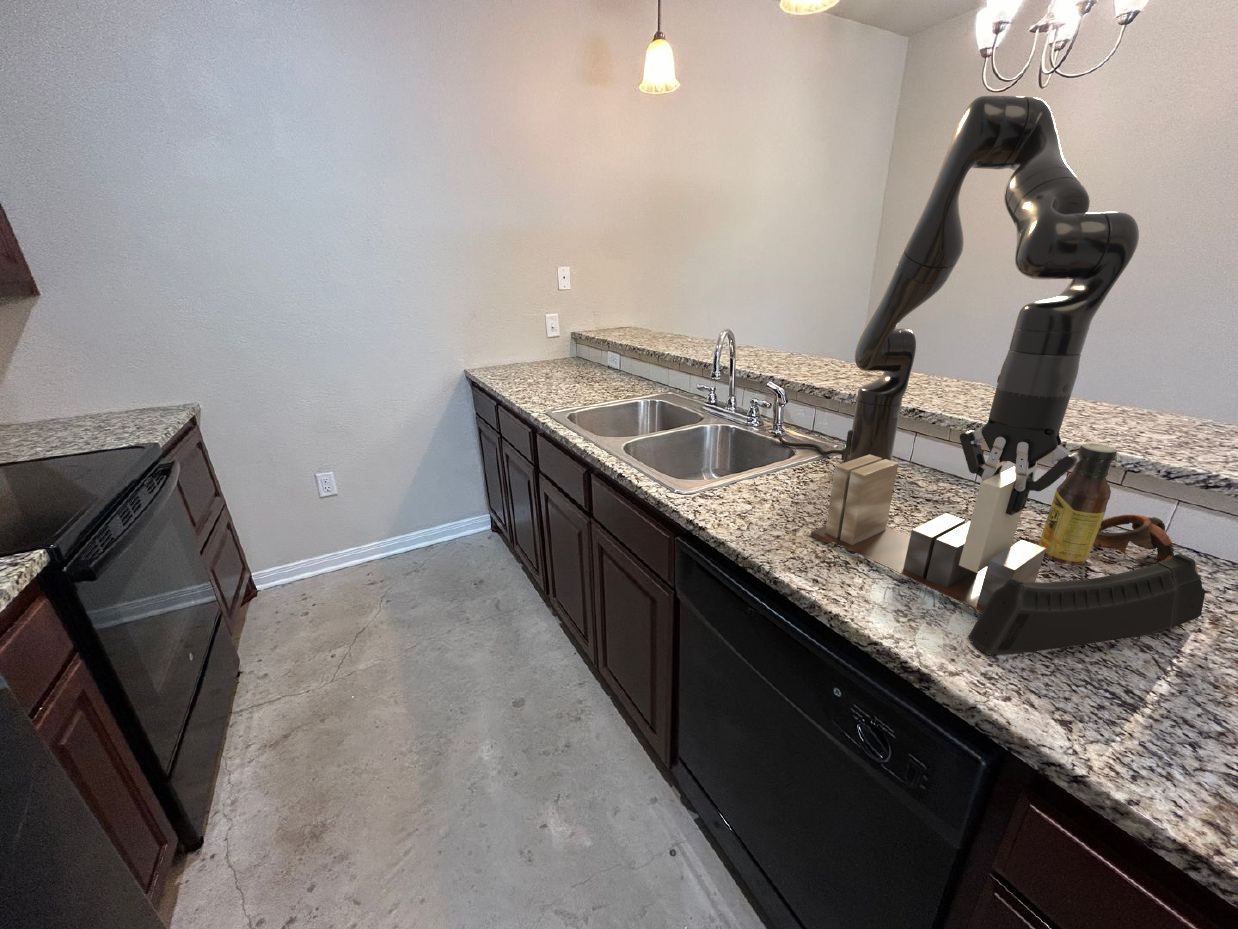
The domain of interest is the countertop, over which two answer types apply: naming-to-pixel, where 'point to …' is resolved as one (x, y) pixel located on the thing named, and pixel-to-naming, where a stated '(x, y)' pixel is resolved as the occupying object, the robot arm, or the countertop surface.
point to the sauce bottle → (1079, 507)
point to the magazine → (1089, 608)
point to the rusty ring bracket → (1136, 535)
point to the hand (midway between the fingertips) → (998, 508)
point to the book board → (915, 537)
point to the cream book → (990, 522)
